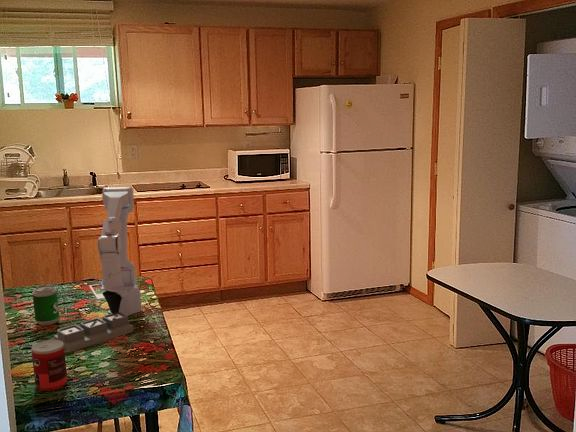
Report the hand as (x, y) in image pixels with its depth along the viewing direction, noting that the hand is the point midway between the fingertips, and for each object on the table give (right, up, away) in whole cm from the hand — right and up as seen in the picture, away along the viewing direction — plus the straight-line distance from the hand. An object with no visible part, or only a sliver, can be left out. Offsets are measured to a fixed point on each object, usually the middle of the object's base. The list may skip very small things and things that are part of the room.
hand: (114, 312), depth 190 cm
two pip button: (0, -3, +1) cm, 4 cm away
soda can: (-25, -5, +8) cm, 27 cm away
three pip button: (-5, -5, -5) cm, 8 cm away
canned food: (-7, -13, -35) cm, 38 cm away
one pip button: (-10, -6, -10) cm, 15 cm away
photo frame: (-13, +2, +40) cm, 42 cm away
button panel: (-5, -7, -4) cm, 10 cm away
